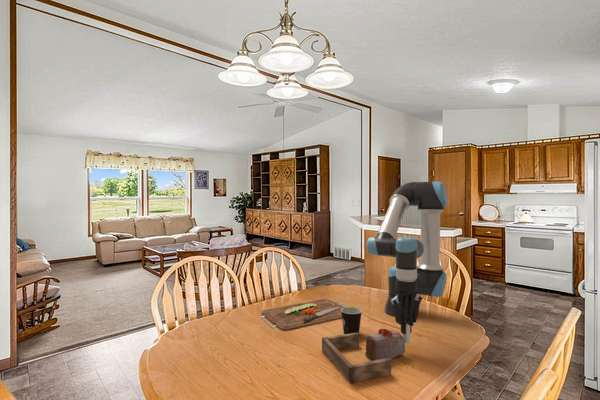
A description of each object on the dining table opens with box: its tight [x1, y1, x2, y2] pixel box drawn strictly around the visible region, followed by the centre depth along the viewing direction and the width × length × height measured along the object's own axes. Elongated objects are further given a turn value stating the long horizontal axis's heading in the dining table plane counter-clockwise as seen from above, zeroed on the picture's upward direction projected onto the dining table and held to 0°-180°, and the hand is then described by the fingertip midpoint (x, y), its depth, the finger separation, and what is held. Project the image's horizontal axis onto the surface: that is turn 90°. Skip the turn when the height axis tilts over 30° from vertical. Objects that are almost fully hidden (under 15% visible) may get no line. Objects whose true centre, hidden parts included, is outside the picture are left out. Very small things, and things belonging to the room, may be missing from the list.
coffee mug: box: [341, 306, 363, 335], centre depth 145 cm, size 12×9×10 cm
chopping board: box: [259, 298, 348, 332], centre depth 167 cm, size 45×27×3 cm, turn 118°
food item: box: [365, 327, 406, 361], centre depth 124 cm, size 14×8×10 cm, turn 117°
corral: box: [321, 332, 392, 384], centre depth 120 cm, size 15×23×5 cm, turn 19°
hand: (406, 341), depth 127 cm, fingers closed
